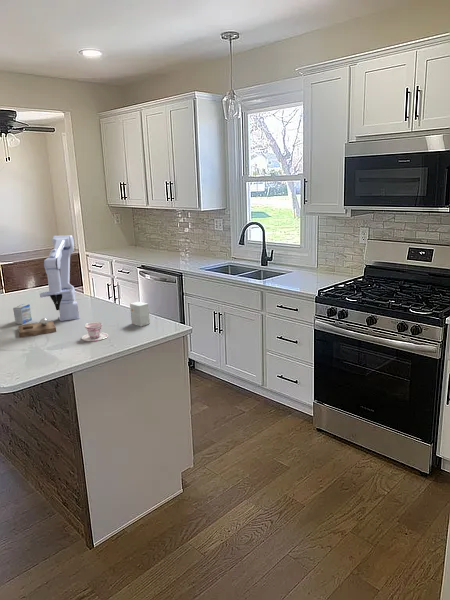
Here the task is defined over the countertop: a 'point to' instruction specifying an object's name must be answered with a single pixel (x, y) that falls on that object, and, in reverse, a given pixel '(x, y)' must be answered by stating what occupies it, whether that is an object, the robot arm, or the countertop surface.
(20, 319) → the medicine box
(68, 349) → the countertop surface
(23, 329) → the hole plate
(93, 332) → the teacup
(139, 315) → the small box
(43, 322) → the steel ball
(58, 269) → the robot arm
